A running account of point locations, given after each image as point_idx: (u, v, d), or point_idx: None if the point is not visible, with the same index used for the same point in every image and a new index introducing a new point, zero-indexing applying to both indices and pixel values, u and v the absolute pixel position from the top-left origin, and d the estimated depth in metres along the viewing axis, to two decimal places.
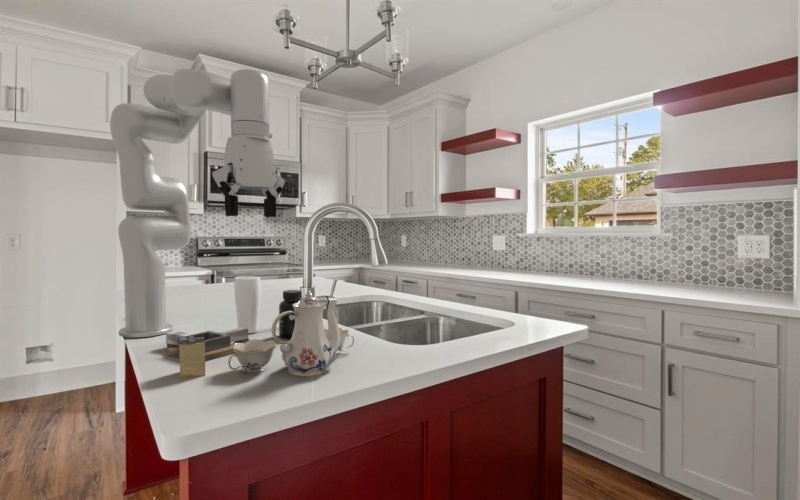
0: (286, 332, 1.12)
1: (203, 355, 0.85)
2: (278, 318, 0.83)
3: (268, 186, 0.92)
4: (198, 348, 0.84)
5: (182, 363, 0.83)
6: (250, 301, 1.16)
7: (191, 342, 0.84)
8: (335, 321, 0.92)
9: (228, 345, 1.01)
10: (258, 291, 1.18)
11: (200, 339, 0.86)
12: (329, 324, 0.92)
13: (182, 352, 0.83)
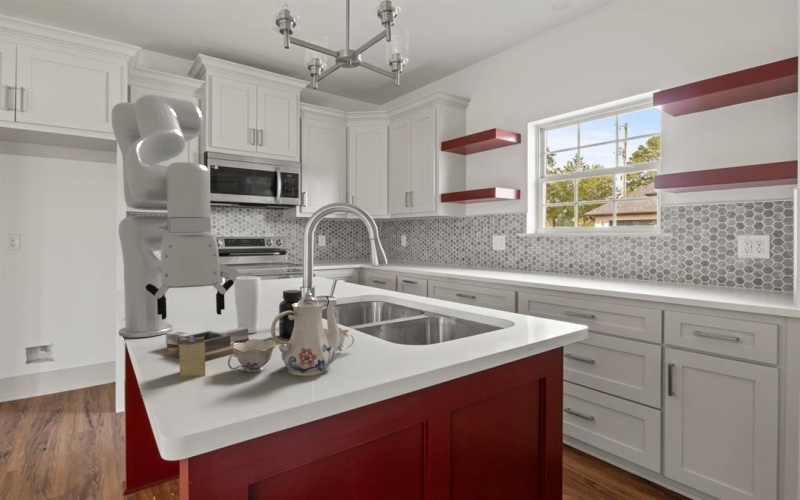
0: (286, 332, 1.12)
1: (203, 355, 0.85)
2: (277, 318, 0.83)
3: None
4: (198, 348, 0.84)
5: (182, 363, 0.83)
6: (250, 301, 1.16)
7: (191, 342, 0.84)
8: (334, 321, 0.92)
9: (228, 345, 1.01)
10: (258, 291, 1.18)
11: (200, 339, 0.86)
12: (328, 324, 0.92)
13: (182, 352, 0.83)
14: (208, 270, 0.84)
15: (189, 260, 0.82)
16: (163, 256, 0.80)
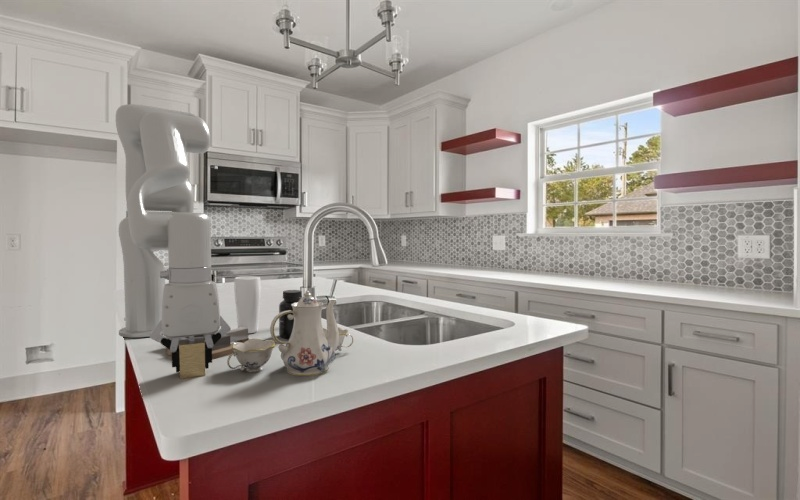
0: (286, 332, 1.12)
1: (203, 355, 0.85)
2: (277, 318, 0.84)
3: None
4: (198, 348, 0.84)
5: (182, 363, 0.83)
6: (250, 301, 1.16)
7: (191, 342, 0.84)
8: (334, 321, 0.93)
9: (228, 345, 1.01)
10: (258, 291, 1.18)
11: (200, 339, 0.86)
12: (328, 324, 0.93)
13: (182, 351, 0.83)
14: (208, 319, 0.84)
15: (190, 310, 0.83)
16: (164, 306, 0.81)
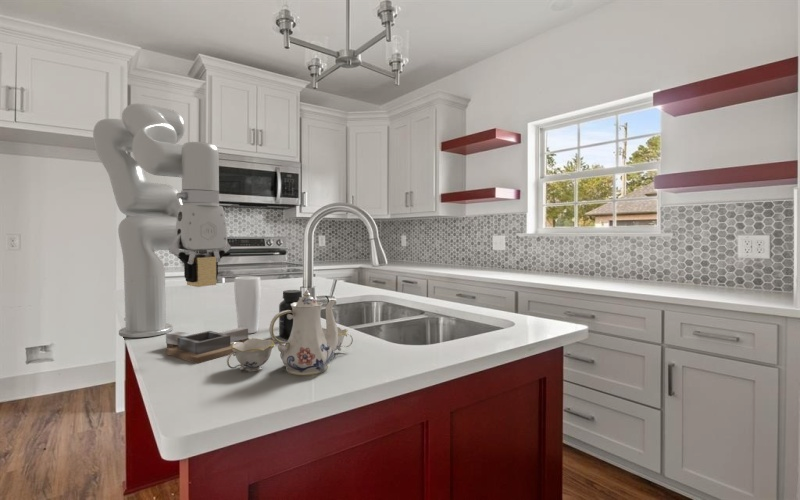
0: (286, 332, 1.12)
1: (215, 267, 0.99)
2: (276, 317, 0.84)
3: None
4: (211, 261, 0.98)
5: (200, 273, 0.96)
6: (250, 301, 1.16)
7: (206, 255, 0.97)
8: (333, 320, 0.93)
9: (228, 345, 1.01)
10: (258, 291, 1.18)
11: (208, 254, 0.99)
12: (327, 323, 0.93)
13: (200, 263, 0.96)
14: (220, 236, 0.99)
15: (207, 227, 0.96)
16: (187, 223, 0.93)
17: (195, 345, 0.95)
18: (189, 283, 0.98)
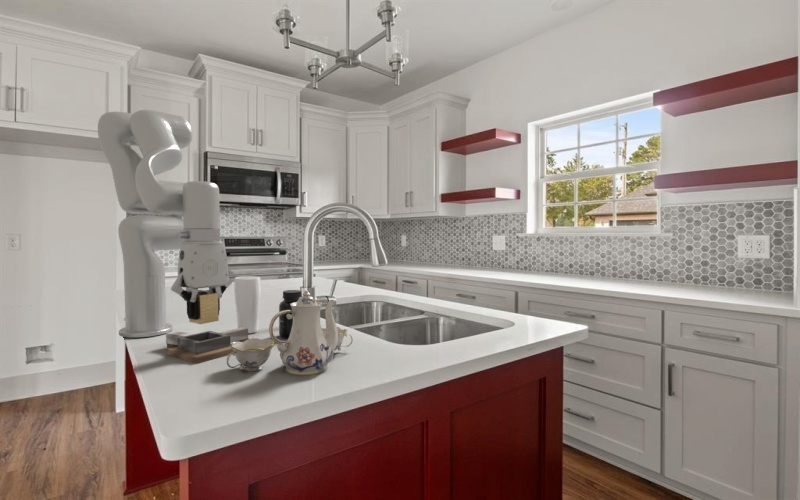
0: (286, 332, 1.12)
1: (217, 303, 1.00)
2: (275, 317, 0.84)
3: None
4: (213, 297, 0.99)
5: (202, 311, 0.97)
6: (250, 301, 1.16)
7: (208, 292, 0.98)
8: (333, 320, 0.93)
9: (228, 345, 1.01)
10: (258, 291, 1.18)
11: (210, 291, 1.00)
12: (327, 323, 0.93)
13: (202, 301, 0.97)
14: (222, 272, 1.00)
15: (208, 264, 0.97)
16: (189, 262, 0.94)
17: (195, 345, 0.95)
18: (192, 320, 0.98)
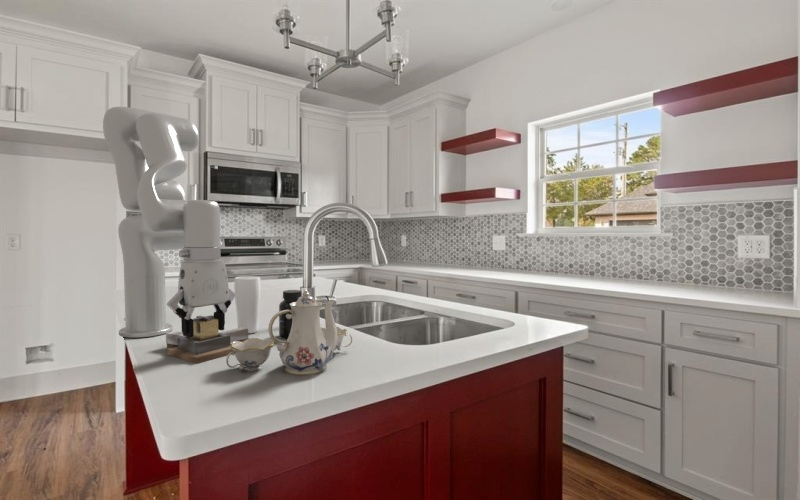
0: (286, 332, 1.12)
1: (217, 329, 1.00)
2: (275, 317, 0.84)
3: None
4: (213, 324, 0.99)
5: (202, 338, 0.97)
6: (250, 301, 1.16)
7: (208, 319, 0.98)
8: (332, 320, 0.93)
9: (228, 345, 1.01)
10: (258, 291, 1.18)
11: (210, 317, 1.01)
12: (326, 323, 0.93)
13: (202, 328, 0.97)
14: (222, 290, 1.00)
15: (209, 283, 0.97)
16: (190, 281, 0.94)
17: (195, 345, 0.95)
18: None
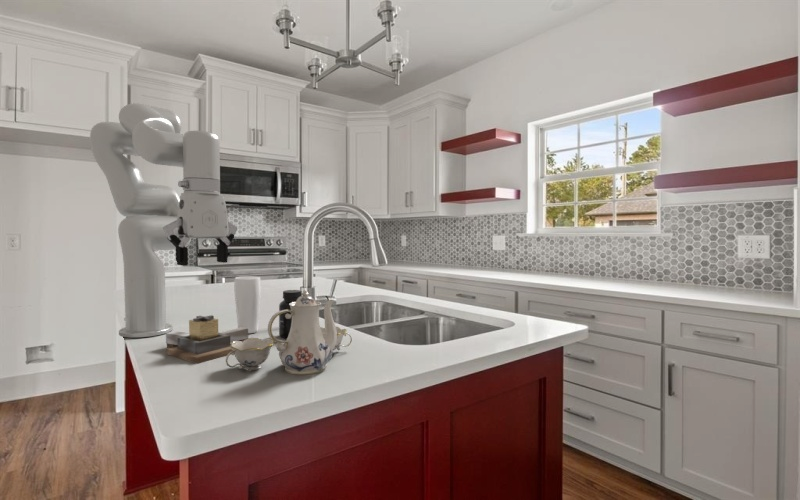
0: (286, 332, 1.12)
1: (217, 329, 1.00)
2: (274, 317, 0.84)
3: None
4: (213, 324, 0.99)
5: (202, 338, 0.97)
6: (250, 301, 1.16)
7: (208, 319, 0.98)
8: (332, 320, 0.93)
9: (228, 345, 1.01)
10: (258, 291, 1.18)
11: (210, 317, 1.01)
12: (326, 323, 0.93)
13: (202, 328, 0.97)
14: (221, 224, 1.00)
15: (208, 215, 0.97)
16: (189, 210, 0.94)
17: (195, 345, 0.95)
18: None
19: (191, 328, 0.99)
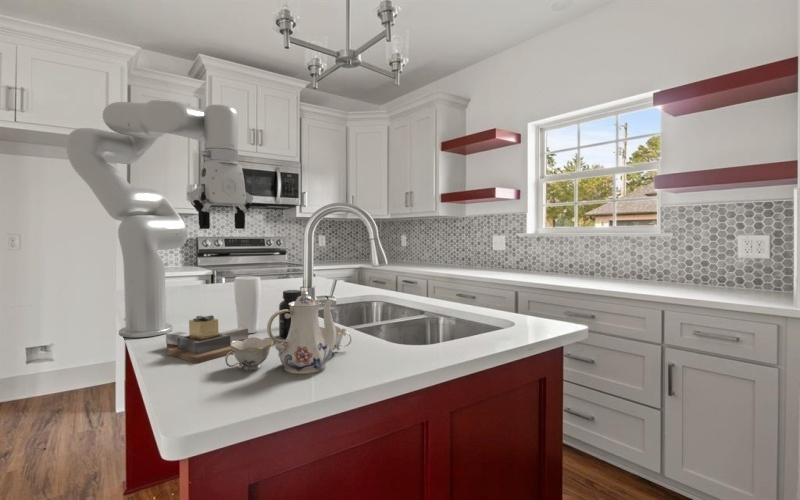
0: (286, 332, 1.12)
1: (217, 329, 1.00)
2: (273, 316, 0.85)
3: None
4: (213, 324, 0.99)
5: (202, 338, 0.97)
6: (250, 301, 1.16)
7: (208, 319, 0.98)
8: (331, 320, 0.93)
9: (228, 345, 1.01)
10: (258, 291, 1.18)
11: (210, 317, 1.01)
12: (325, 323, 0.93)
13: (202, 328, 0.97)
14: (239, 192, 1.08)
15: (228, 183, 1.05)
16: (211, 178, 1.02)
17: (195, 345, 0.95)
18: None
19: (191, 328, 0.99)
